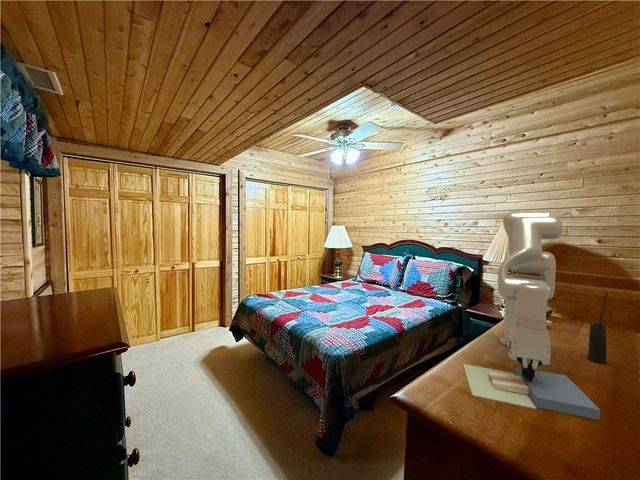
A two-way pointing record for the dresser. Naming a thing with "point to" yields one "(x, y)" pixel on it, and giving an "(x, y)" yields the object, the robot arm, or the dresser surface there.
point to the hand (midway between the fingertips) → (527, 378)
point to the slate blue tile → (559, 395)
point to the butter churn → (598, 340)
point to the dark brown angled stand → (548, 314)
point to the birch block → (508, 383)
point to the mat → (485, 389)
